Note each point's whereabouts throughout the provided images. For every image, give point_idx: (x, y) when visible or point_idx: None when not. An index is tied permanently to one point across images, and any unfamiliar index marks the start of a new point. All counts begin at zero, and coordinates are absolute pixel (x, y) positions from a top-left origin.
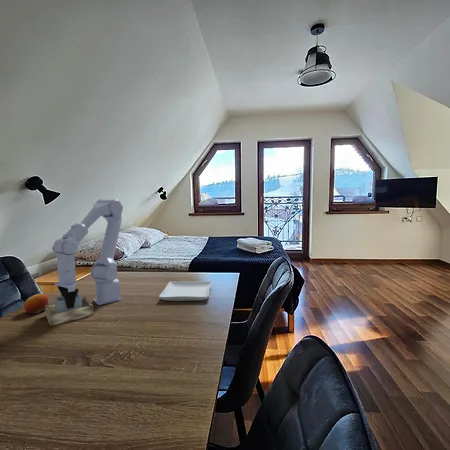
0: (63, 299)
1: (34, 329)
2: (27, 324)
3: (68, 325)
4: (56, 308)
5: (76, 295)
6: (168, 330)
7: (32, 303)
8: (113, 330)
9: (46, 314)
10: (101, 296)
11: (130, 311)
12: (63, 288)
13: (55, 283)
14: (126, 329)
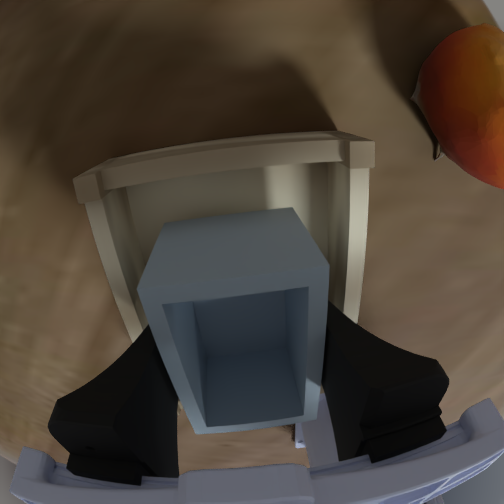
0: (300, 318)
1: (107, 69)
2: (237, 15)
3: (73, 258)
4: (230, 229)
5: (301, 401)
6: (7, 433)
7: (463, 61)
8: (5, 374)
9: (294, 135)
10: (317, 432)
11: None
12: (352, 413)
13: (296, 501)
14: (10, 396)
